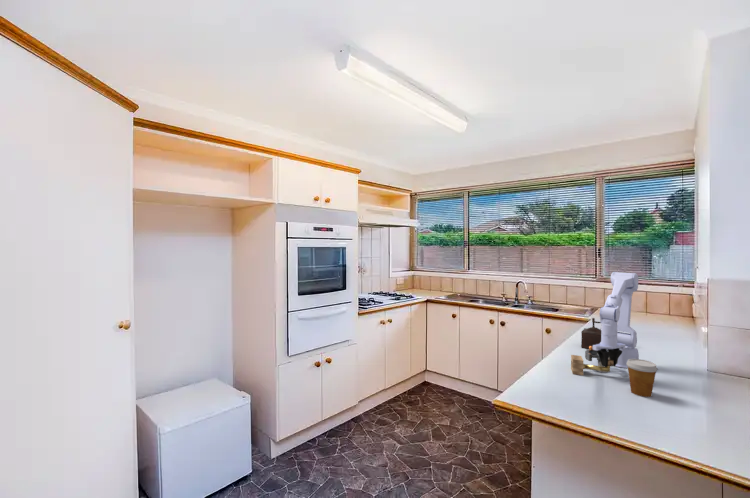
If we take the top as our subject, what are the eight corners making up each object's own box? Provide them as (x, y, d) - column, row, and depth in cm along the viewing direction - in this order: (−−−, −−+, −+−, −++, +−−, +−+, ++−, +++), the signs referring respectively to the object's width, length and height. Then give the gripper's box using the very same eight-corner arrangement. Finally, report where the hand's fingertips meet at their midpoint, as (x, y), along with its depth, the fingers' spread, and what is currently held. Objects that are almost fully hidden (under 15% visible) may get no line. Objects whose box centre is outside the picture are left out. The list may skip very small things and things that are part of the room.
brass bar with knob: (612, 371, 151) (612, 358, 151) (614, 374, 148) (614, 361, 148) (579, 367, 156) (579, 354, 156) (580, 369, 153) (580, 357, 153)
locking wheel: (618, 365, 151) (618, 354, 151) (585, 360, 157) (585, 349, 157) (616, 358, 160) (616, 348, 160) (584, 354, 166) (585, 344, 166)
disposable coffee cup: (652, 391, 136) (653, 360, 135) (660, 401, 127) (661, 368, 127) (623, 386, 140) (623, 357, 139) (628, 396, 131) (629, 364, 131)
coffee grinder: (604, 352, 184) (605, 318, 183) (580, 348, 191) (581, 315, 190) (608, 345, 196) (608, 314, 195) (585, 342, 203) (586, 311, 202)
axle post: (607, 368, 159) (607, 359, 159) (610, 373, 154) (610, 363, 154) (592, 366, 162) (592, 357, 161) (594, 371, 156) (594, 361, 156)
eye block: (581, 370, 157) (581, 355, 157) (583, 375, 151) (583, 360, 151) (570, 368, 159) (571, 354, 159) (572, 374, 153) (572, 359, 152)
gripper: (615, 331, 155) (614, 361, 155) (587, 333, 152) (586, 363, 153) (629, 335, 148) (629, 367, 148) (600, 337, 145) (599, 369, 146)
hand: (608, 365), depth 150 cm, fingers closed on brass bar with knob, 4 cm apart
